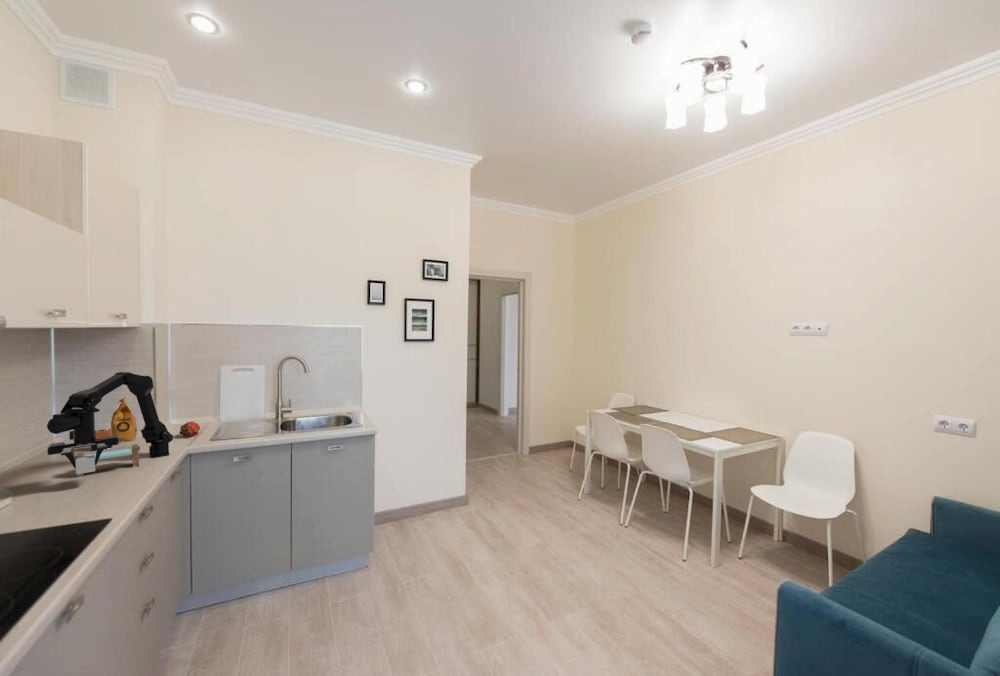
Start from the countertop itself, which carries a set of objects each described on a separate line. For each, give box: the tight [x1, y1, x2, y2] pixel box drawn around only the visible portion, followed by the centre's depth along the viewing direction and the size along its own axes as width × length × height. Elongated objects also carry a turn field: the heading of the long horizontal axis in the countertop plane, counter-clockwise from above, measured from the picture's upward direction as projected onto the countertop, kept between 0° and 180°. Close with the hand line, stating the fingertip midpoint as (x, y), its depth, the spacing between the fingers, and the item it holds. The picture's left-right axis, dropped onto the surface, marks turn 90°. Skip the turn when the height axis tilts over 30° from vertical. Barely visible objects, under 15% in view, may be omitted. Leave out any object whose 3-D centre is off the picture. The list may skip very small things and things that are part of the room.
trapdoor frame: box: [75, 443, 141, 478], centre depth 172 cm, size 20×5×8 cm, turn 133°
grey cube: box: [75, 455, 97, 475], centre depth 156 cm, size 5×5×5 cm
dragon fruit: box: [178, 420, 201, 438], centre depth 221 cm, size 8×8×12 cm
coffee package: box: [110, 396, 138, 442], centre depth 213 cm, size 10×12×22 cm
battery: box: [90, 427, 113, 452], centre depth 197 cm, size 4×7×10 cm, turn 123°
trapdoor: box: [85, 445, 132, 461], centre depth 172 cm, size 14×11×3 cm
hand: (85, 466), depth 156 cm, fingers closed on grey cube, 5 cm apart
